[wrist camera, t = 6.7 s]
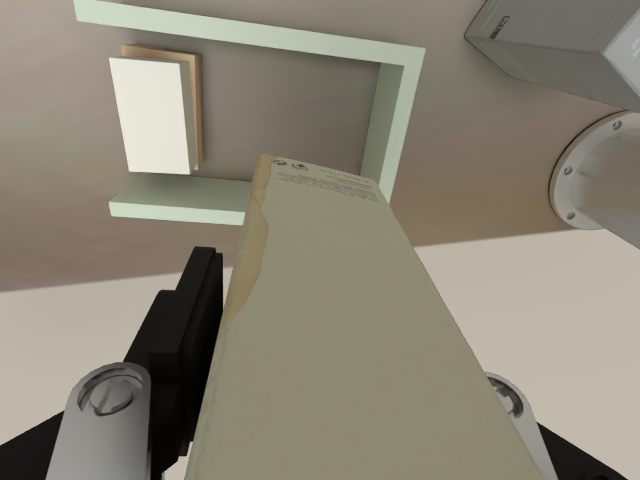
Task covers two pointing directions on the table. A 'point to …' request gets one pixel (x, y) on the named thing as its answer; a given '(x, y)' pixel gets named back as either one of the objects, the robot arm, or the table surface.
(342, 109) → the table surface
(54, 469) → the robot arm
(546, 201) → the table surface
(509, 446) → the skincare box
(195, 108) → the offcut lower
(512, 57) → the skincare box
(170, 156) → the offcut upper
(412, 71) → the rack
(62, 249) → the table surface
